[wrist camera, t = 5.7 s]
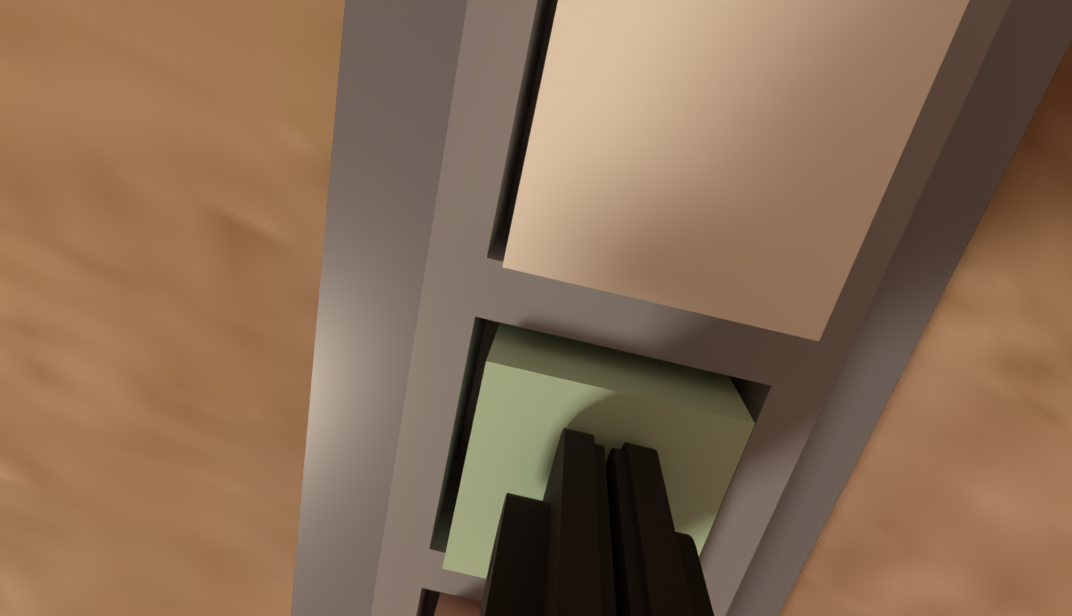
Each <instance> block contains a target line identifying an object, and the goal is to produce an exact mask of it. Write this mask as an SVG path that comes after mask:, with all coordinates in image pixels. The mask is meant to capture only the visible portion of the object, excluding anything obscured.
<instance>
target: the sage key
mask: <svg viewBox="0 0 1072 616" xmlns="http://www.w3.org/2000/svg"><path fill="white" fill-rule="evenodd" d="M754 425H755V423H754V421H753V419H752V417H751V415H750V413H749V412H748V410H747V408H746V406H745V404H744V402H743V401H742V399H741V397H740V395H739V393H738V391H737V390H736V388H735V386H734V384H733V382H732V380H731V379H730V377H729V376H728V375H724V374H719V373H715V372H711V371H706V370H702V369H698V368H694V367H689V366H685V365H681V364H676V363H672V362H668V361H664V360H659V359H655V358H651V357H646V356H642V355H638V354H634V353H629V352H625V351H621V350H616V349H612V348H608V347H604V346H599V345H595V344H591V343H586V342H582V341H578V340H574V339H569V338H565V337H561V336H556V335H552V334H548V333H544V332H539V331H535V330H531V329H526V328H522V327H518V326H514V325H509V324H505V323H501V322H500V323H499V326H498V329H497V332H496V335H495V337H494V340H493V343H492V346H491V349H490V351H489V354H488V357H487V360H486V364H485V368H484V373H483V378H482V383H481V387H480V392H479V397H478V402H477V406H476V411H475V416H474V421H473V425H472V430H471V435H470V440H469V444H468V449H467V454H466V459H465V463H464V468H463V473H462V477H461V482H460V487H459V492H458V496H457V501H456V506H455V511H454V515H453V520H452V525H451V530H450V534H449V539H448V544H447V549H446V553H445V558H444V563H443V568H442V569H446V570H451V571H455V572H459V573H464V574H468V575H472V576H477V577H481V578H487V573H488V568H489V563H490V559H491V554H492V550H493V545H494V541H495V536H496V532H497V528H498V524H499V520H500V516H501V512H502V508H503V504H504V500H505V497H506V493H511V494H515V495H519V496H524V497H528V498H532V499H537V500H541V501H542V500H543V497H544V493H545V490H546V486H547V482H548V479H549V475H550V472H551V468H552V465H553V461H554V457H555V454H556V450H557V447H558V443H559V439H560V436H561V433H562V430H563V428H566V429H571V430H575V431H579V432H584V433H588V434H592V435H594V439H595V444H599V445H603V446H604V449H605V463H606V462H607V458H608V455H609V453H610V450H611V449H612V448H616V449H621V448H622V446H623V444H624V443H625V442H627V443H631V444H635V445H640V446H644V447H648V448H653V449H656V450H657V453H658V456H659V461H660V465H661V470H662V474H663V479H664V483H665V488H666V492H667V497H668V501H669V505H670V510H671V514H672V519H673V523H674V528H675V532H680V533H684V534H688V535H690V536H691V537H692V538H693V540H694V542H695V545H696V548H697V552H698V556H700V553H701V551H702V548H703V546H704V544H705V541H706V539H707V537H708V534H709V532H710V529H711V527H712V525H713V522H714V520H715V518H716V515H717V513H718V510H719V508H720V506H721V503H722V501H723V499H724V496H725V494H726V491H727V489H728V487H729V484H730V482H731V479H732V477H733V475H734V472H735V470H736V468H737V465H738V463H739V460H740V458H741V456H742V453H743V451H744V449H745V446H746V444H747V441H748V439H749V437H750V434H751V432H752V430H753V427H754Z"/></svg>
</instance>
